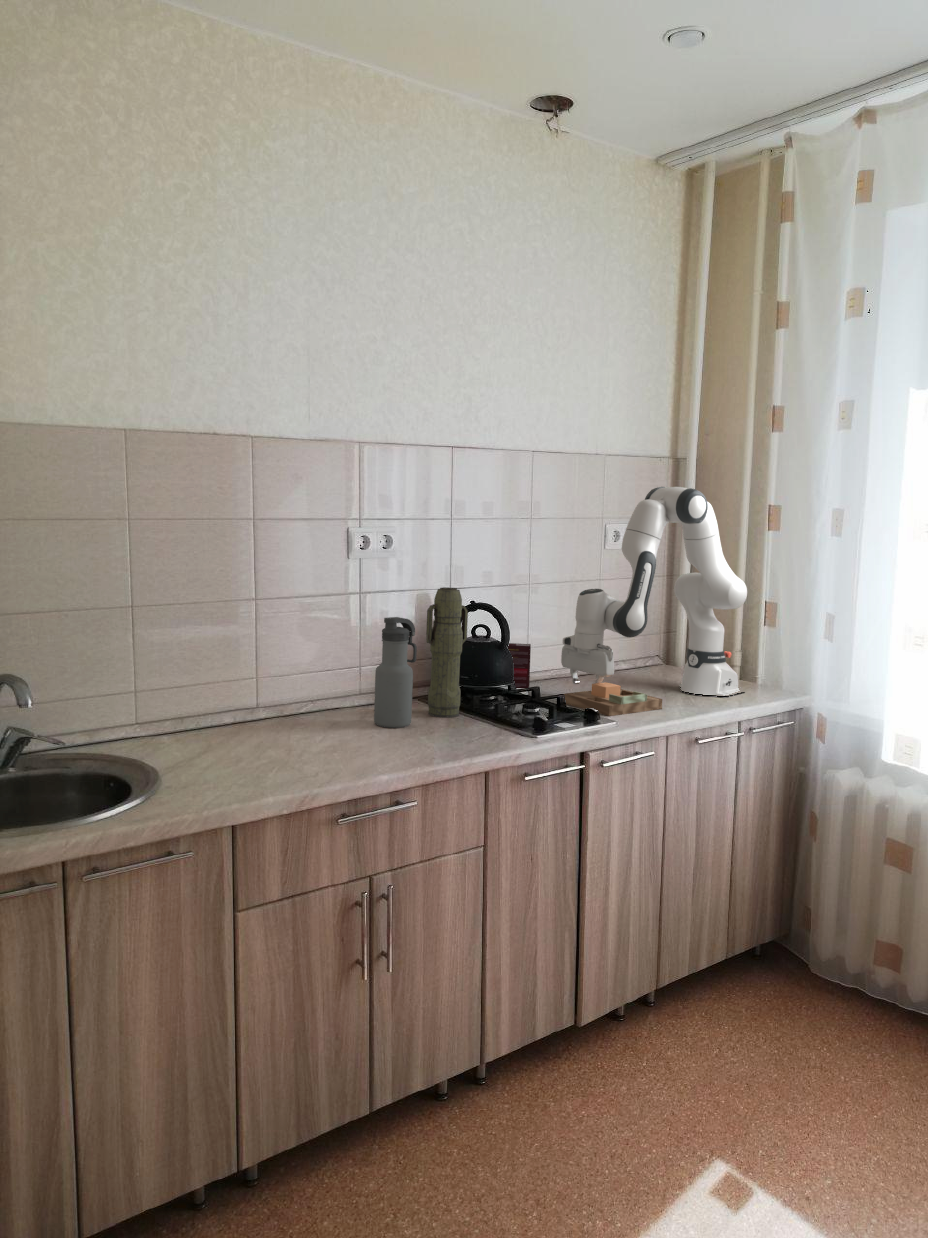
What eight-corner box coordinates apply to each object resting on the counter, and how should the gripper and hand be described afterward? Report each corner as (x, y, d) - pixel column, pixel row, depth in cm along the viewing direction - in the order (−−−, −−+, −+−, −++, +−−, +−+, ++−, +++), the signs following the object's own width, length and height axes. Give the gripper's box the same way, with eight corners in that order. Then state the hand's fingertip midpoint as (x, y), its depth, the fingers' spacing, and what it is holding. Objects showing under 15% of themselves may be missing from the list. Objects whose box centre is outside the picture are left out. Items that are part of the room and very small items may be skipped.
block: (605, 692, 281) (606, 682, 281) (619, 696, 276) (620, 685, 276) (591, 694, 278) (591, 683, 277) (605, 698, 273) (606, 687, 272)
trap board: (615, 697, 290) (616, 681, 290) (661, 709, 275) (662, 692, 274) (563, 703, 277) (564, 687, 277) (608, 716, 262) (609, 698, 262)
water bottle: (395, 718, 249) (399, 614, 246) (420, 725, 242) (423, 619, 239) (366, 723, 242) (369, 616, 239) (390, 730, 235) (393, 621, 232)
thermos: (470, 715, 256) (475, 589, 252) (435, 719, 249) (439, 590, 245) (452, 708, 263) (457, 586, 259) (417, 712, 257) (421, 587, 252)
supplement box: (529, 693, 290) (531, 643, 288) (528, 696, 285) (531, 645, 283) (501, 692, 291) (503, 642, 289) (500, 695, 286) (502, 644, 284)
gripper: (620, 646, 276) (617, 691, 277) (574, 637, 292) (571, 680, 294) (605, 647, 272) (602, 693, 274) (558, 638, 288) (556, 681, 290)
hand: (586, 686), depth 284 cm, fingers open, 8 cm apart
